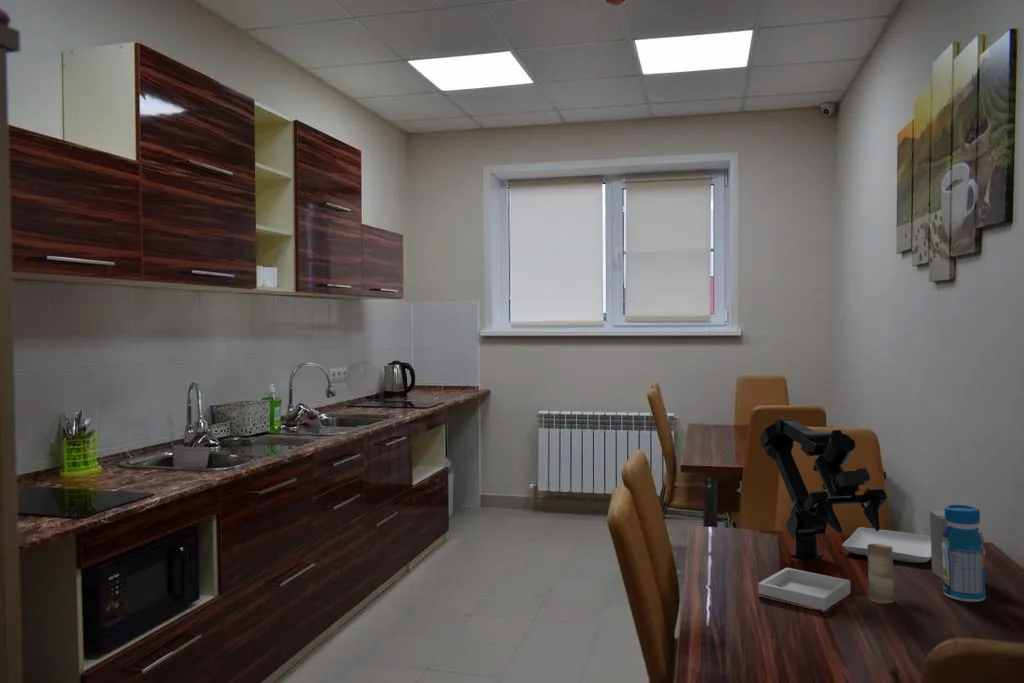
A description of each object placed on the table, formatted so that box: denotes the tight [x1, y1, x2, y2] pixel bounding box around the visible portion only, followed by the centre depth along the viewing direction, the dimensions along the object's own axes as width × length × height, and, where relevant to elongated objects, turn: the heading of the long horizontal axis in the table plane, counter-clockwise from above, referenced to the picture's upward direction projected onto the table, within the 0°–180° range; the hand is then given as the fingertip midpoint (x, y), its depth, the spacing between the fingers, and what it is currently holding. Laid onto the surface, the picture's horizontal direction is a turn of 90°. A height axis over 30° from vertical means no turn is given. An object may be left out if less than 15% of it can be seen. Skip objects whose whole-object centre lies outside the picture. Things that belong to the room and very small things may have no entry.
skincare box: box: [929, 510, 978, 581], centre depth 177 cm, size 8×7×16 cm
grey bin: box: [757, 567, 851, 610], centre depth 168 cm, size 15×15×3 cm
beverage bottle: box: [941, 504, 987, 603], centre depth 164 cm, size 8×8×20 cm
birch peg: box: [867, 544, 895, 604], centre depth 164 cm, size 5×5×12 cm
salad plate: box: [842, 526, 932, 564], centre depth 199 cm, size 21×21×3 cm
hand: (859, 531), depth 171 cm, fingers open, 9 cm apart
